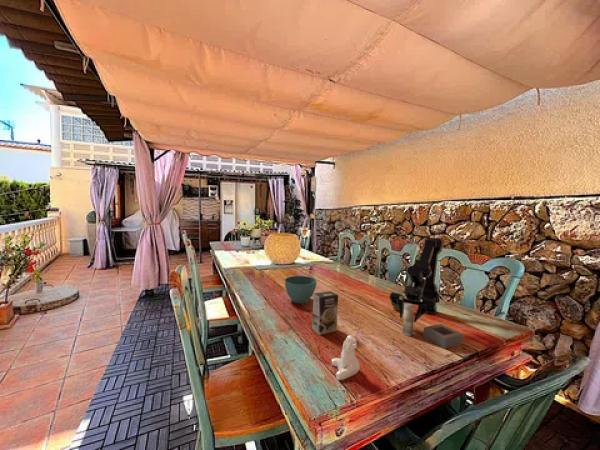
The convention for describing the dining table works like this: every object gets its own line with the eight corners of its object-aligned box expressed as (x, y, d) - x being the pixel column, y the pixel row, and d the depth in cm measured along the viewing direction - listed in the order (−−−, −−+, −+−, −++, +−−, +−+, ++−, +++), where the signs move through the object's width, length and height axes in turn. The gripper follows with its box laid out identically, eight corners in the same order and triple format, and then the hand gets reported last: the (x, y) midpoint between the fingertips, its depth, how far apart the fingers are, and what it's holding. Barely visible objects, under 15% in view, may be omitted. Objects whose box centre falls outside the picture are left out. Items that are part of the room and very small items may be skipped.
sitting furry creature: (330, 363, 88) (331, 328, 88) (354, 362, 89) (356, 328, 89) (336, 381, 79) (338, 343, 78) (364, 380, 80) (365, 342, 79)
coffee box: (319, 335, 108) (320, 297, 107) (311, 329, 113) (312, 292, 113) (337, 331, 112) (338, 294, 111) (329, 325, 118) (330, 290, 117)
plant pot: (321, 299, 151) (322, 279, 150) (305, 309, 136) (306, 286, 135) (295, 293, 161) (296, 274, 160) (277, 302, 145) (278, 280, 145)
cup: (403, 308, 141) (404, 293, 140) (404, 313, 134) (405, 297, 133) (389, 306, 143) (390, 292, 143) (389, 310, 136) (390, 296, 136)
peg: (407, 331, 114) (409, 303, 113) (414, 335, 110) (416, 306, 109) (400, 332, 112) (401, 304, 112) (407, 336, 109) (409, 307, 108)
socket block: (440, 332, 113) (440, 323, 112) (462, 343, 104) (462, 334, 103) (423, 336, 109) (423, 327, 109) (444, 348, 100) (445, 338, 99)
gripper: (391, 274, 119) (381, 304, 111) (436, 282, 107) (428, 316, 99) (397, 287, 125) (387, 317, 118) (440, 296, 113) (432, 330, 106)
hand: (407, 319), depth 110 cm, fingers open, 5 cm apart
